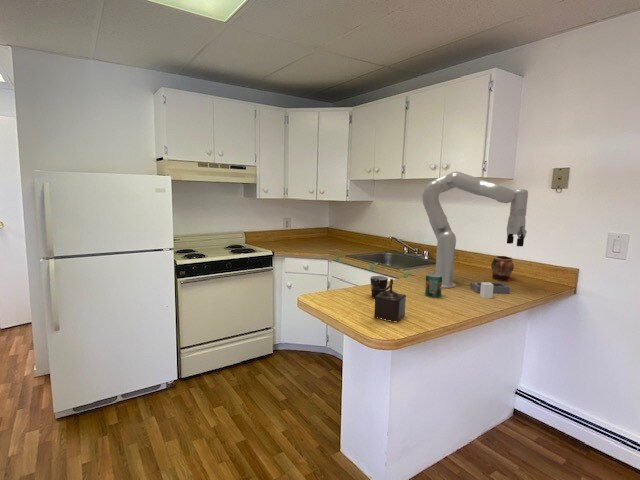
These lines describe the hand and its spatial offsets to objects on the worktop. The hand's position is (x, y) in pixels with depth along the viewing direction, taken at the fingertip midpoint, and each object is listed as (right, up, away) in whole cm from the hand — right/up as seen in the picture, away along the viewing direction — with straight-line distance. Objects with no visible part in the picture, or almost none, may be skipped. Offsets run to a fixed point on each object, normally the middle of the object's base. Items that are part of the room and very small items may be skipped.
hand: (514, 244), depth 193 cm
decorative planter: (+6, -22, +27) cm, 35 cm away
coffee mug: (-75, -26, -11) cm, 80 cm away
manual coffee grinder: (-76, -31, -42) cm, 92 cm away
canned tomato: (-46, -26, -9) cm, 54 cm away
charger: (-19, -27, -9) cm, 34 cm away
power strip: (-13, -24, +5) cm, 28 cm away
